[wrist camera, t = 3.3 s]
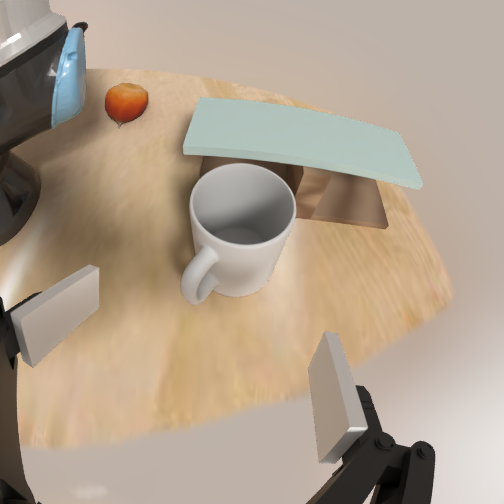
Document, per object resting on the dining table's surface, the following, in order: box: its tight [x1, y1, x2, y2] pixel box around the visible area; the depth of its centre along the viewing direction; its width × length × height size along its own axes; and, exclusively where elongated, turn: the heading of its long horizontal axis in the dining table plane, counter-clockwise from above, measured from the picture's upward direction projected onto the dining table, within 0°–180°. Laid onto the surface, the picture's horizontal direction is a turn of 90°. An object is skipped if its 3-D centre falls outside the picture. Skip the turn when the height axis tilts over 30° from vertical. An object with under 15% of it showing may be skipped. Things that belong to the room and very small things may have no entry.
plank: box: [183, 97, 423, 190], centre depth 29 cm, size 28×10×1 cm, turn 88°
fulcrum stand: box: [200, 156, 389, 229], centre depth 33 cm, size 26×12×8 cm, turn 88°
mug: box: [180, 163, 296, 305], centre depth 25 cm, size 12×8×11 cm
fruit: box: [105, 83, 148, 128], centre depth 38 cm, size 8×8×8 cm
